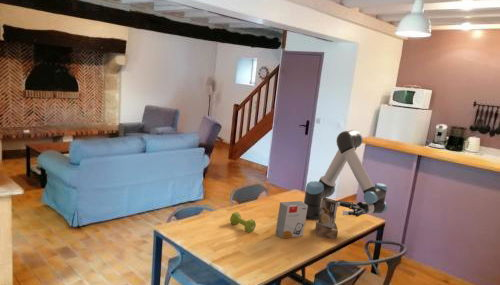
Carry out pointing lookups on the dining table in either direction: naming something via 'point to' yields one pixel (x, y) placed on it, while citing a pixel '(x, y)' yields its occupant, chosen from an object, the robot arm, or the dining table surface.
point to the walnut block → (326, 231)
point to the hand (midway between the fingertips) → (336, 208)
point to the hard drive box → (291, 219)
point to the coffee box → (328, 212)
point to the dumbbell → (242, 222)
